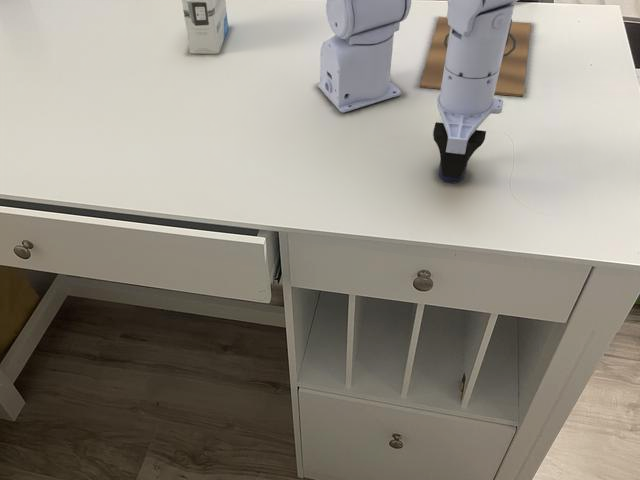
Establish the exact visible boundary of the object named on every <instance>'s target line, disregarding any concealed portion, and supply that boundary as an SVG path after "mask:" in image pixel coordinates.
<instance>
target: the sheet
mask: <svg viewBox="0 0 640 480" xmlns="http://www.w3.org/2000/svg"><path fill="white" fill-rule="evenodd" d="M531 26H532V23H531V22H519V21H512V24H511V29H510V33H509V37H508V42H507V44H506V45H505V49H504V54H503V58H502V62H501V67H500V71H499V75H498V80H497V84H496V89H495V93H494V95H500V96H511V97H521V98H523V97H524V92H525V84H526V82H525V81H526V74H527V65H528V57H529V56H528V55H529V54H528V53H529V46H530V38H531V37H530V36H531V28H532V27H531ZM450 28H451V26H449V25H448V19H447V16H446V17H444V16H438V18H437V21H436V25H435V29H434V34H433V36H432V39H431V43H430V47H429V50H428V53H427V58H426V61H425V65H424V68H423V72H422V75H421V79H420V82H419V88H426V89H427V88H428V89H436V90H441V85H442V79H443V72H444V66H445V60H446V53H447V47H448V40H449V34H450Z"/></svg>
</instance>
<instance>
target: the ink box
mask: <svg viewBox="0 0 640 480" xmlns="http://www.w3.org/2000/svg"><path fill="white" fill-rule="evenodd" d="M181 4H182V11H183V17H184V23H185V29H186V36H187V43H188V47H189V53H190V54H191V55H192V54H194V55H195V54H197V55H199V54H202V55H204V54H205V55H207V54H208V55H217V54H219V53H220V51H221V48H222V46H223V43H224V41H225V39H226V35H227V33H228V30H229V22H228V12H227V1H226V0H181Z"/></svg>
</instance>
